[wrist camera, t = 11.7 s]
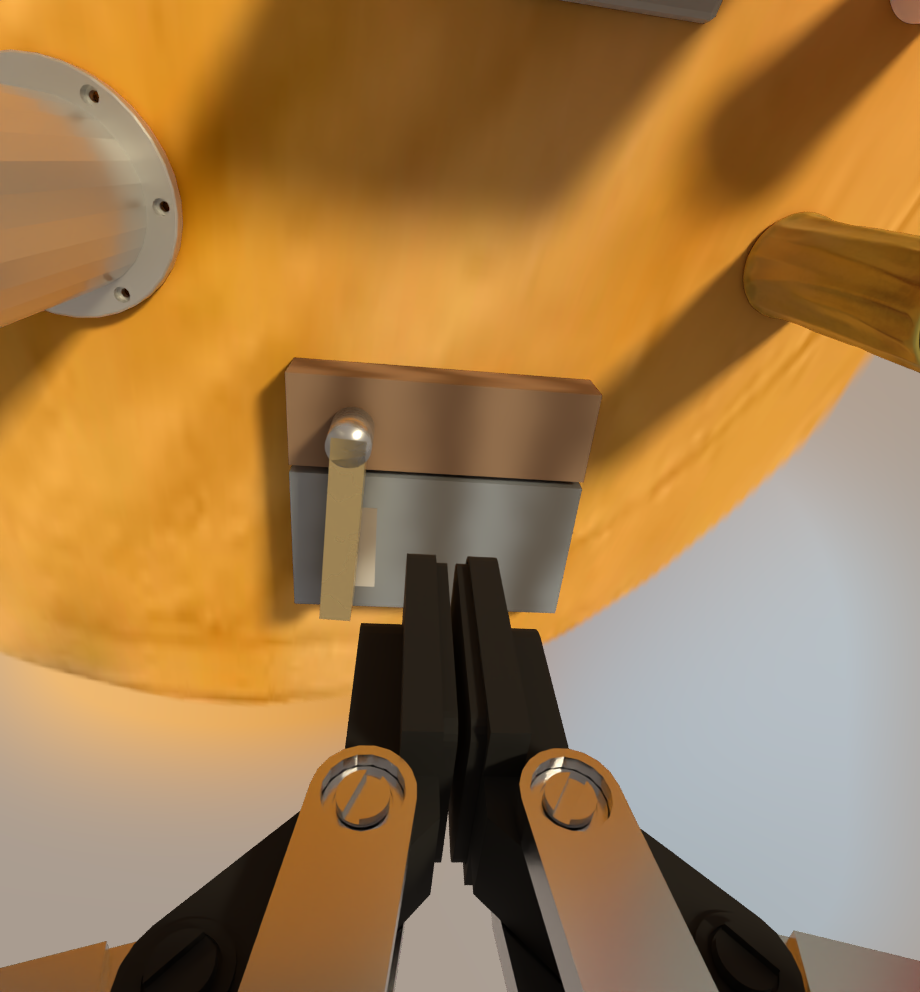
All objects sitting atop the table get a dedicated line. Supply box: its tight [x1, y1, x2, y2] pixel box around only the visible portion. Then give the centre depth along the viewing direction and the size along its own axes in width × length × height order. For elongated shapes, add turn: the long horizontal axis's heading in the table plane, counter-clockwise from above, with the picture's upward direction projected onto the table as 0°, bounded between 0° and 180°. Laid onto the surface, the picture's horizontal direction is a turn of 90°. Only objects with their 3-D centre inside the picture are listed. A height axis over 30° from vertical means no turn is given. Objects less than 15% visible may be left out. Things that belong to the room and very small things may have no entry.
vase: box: [743, 212, 920, 373], centre depth 31 cm, size 6×6×14 cm
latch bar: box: [319, 407, 375, 621], centre depth 38 cm, size 14×3×3 cm, turn 171°
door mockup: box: [285, 358, 602, 613], centre depth 42 cm, size 19×17×3 cm
